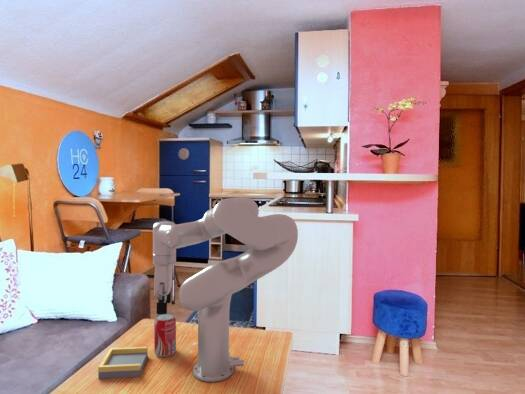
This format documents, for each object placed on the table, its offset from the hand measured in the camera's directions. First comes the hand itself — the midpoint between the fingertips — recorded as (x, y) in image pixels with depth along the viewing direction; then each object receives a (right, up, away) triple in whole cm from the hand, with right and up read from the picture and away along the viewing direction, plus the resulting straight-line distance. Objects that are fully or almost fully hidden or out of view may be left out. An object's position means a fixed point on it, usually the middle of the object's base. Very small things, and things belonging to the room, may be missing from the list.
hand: (163, 308), depth 127 cm
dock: (-10, -16, -8) cm, 21 cm away
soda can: (0, -16, +1) cm, 16 cm away
